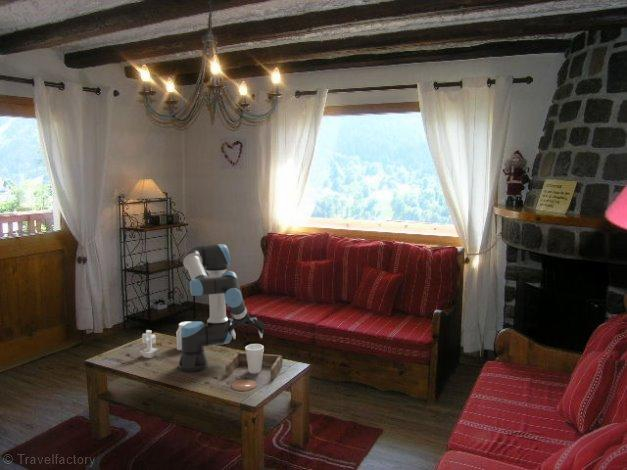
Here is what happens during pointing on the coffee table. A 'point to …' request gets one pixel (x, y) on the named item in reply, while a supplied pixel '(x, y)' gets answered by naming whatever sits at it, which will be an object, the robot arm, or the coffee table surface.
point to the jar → (178, 334)
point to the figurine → (149, 344)
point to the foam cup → (254, 357)
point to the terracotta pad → (243, 385)
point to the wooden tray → (266, 361)
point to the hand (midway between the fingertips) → (248, 336)
